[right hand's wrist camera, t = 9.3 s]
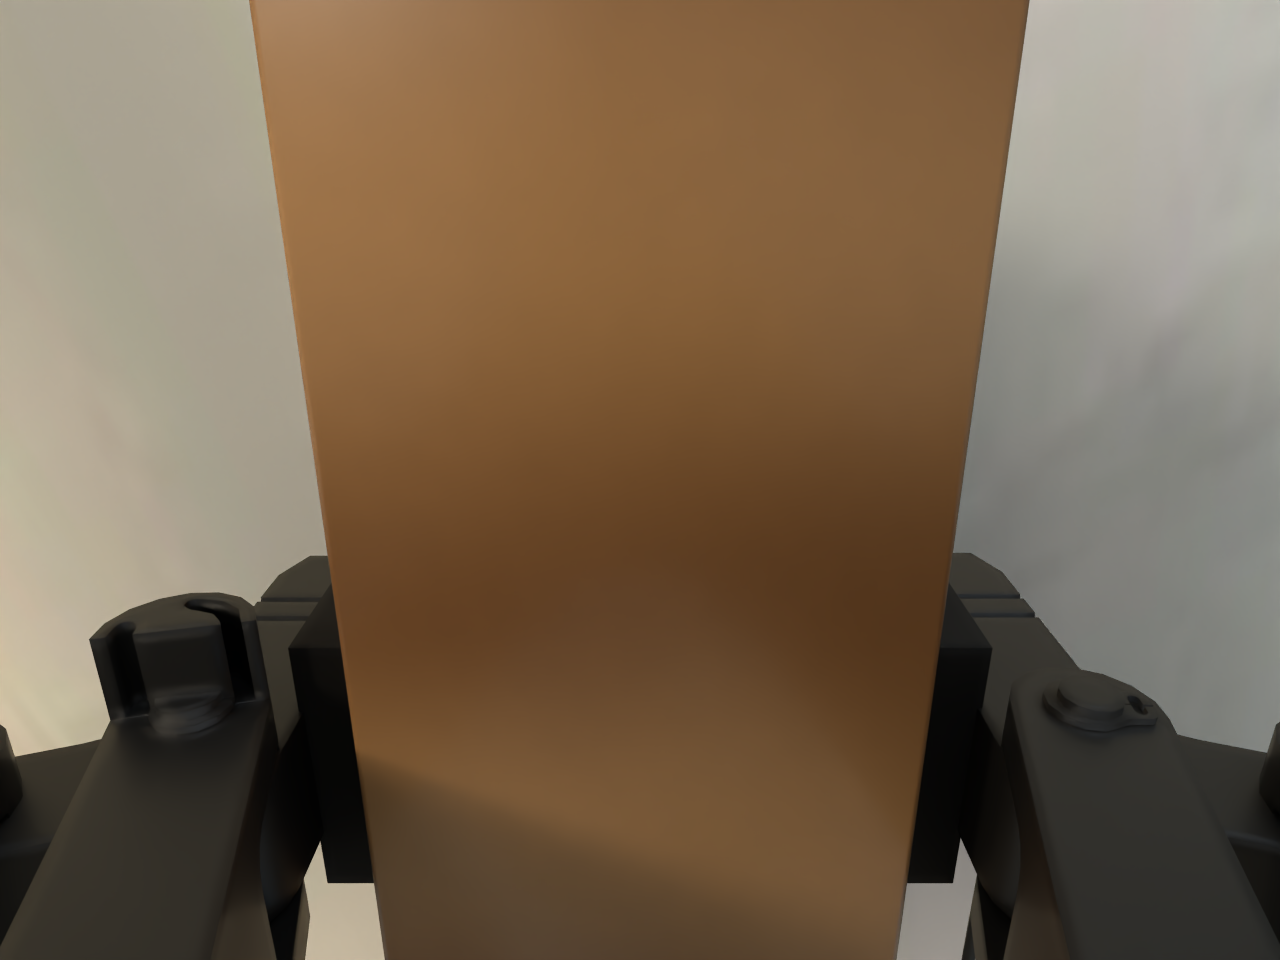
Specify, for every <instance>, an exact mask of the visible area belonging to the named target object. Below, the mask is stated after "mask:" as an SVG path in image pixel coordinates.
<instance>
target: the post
mask: <svg viewBox="0 0 1280 960" xmlns="http://www.w3.org/2000/svg"><path fill="white" fill-rule="evenodd" d="M1029 1H1030V0H249V3H250V10H251V17H252V24H253V31H254V38H255V45H256V52H257V59H258V66H259V73H260V80H261V87H262V95H263V102H264V109H265V116H266V123H267V130H268V137H269V144H270V151H271V158H272V165H273V172H274V179H275V186H276V193H277V200H278V208H279V215H280V222H281V229H282V236H283V243H284V250H285V257H286V264H287V271H288V278H289V285H290V292H291V299H292V306H293V314H294V321H295V328H296V335H297V342H298V349H299V356H300V363H301V370H302V377H303V384H304V391H305V398H306V405H307V412H308V419H309V427H310V434H311V441H312V448H313V455H314V462H315V469H316V476H317V483H318V490H319V497H320V504H321V511H322V518H323V525H324V532H325V540H326V547H327V554H328V561H329V568H330V575H331V582H332V589H333V596H334V603H335V610H336V617H337V624H338V631H339V638H340V646H341V653H342V660H343V667H344V674H345V681H346V688H347V695H348V702H349V709H350V716H351V723H352V730H353V737H354V744H355V751H356V759H357V766H358V773H359V780H360V787H361V794H362V801H363V808H364V815H365V822H366V829H367V836H368V843H369V850H370V857H371V864H372V872H373V879H374V886H375V893H376V900H377V907H378V914H379V921H380V928H381V935H382V942H383V949H384V956H385V960H896V958H897V951H898V944H899V937H900V929H901V922H902V915H903V908H904V901H905V893H906V886H907V879H908V872H909V865H910V857H911V850H912V843H913V836H914V829H915V821H916V814H917V807H918V800H919V793H920V785H921V778H922V771H923V764H924V757H925V749H926V742H927V735H928V728H929V721H930V713H931V706H932V699H933V692H934V685H935V677H936V670H937V663H938V656H939V649H940V641H941V634H942V627H943V620H944V613H945V605H946V598H947V591H948V584H949V577H950V569H951V562H952V555H953V548H954V541H955V533H956V526H957V519H958V512H959V505H960V497H961V490H962V483H963V476H964V469H965V461H966V454H967V447H968V440H969V433H970V425H971V418H972V411H973V404H974V397H975V389H976V382H977V375H978V368H979V361H980V353H981V346H982V339H983V332H984V325H985V317H986V310H987V303H988V296H989V289H990V281H991V274H992V267H993V260H994V253H995V245H996V238H997V231H998V224H999V217H1000V209H1001V202H1002V195H1003V188H1004V181H1005V173H1006V166H1007V159H1008V152H1009V145H1010V137H1011V130H1012V123H1013V116H1014V109H1015V101H1016V94H1017V87H1018V80H1019V73H1020V65H1021V58H1022V51H1023V44H1024V37H1025V29H1026V22H1027V15H1028V8H1029Z"/></svg>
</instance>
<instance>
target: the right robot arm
mask: <svg viewBox="0 0 1280 960" xmlns="http://www.w3.org/2000/svg"><path fill="white" fill-rule="evenodd" d="M89 641H90V645H91V648H92V652H93V656H94V660H95V663H96V667H97V671H98V675H99V679H100V682H101V686H102V690H103V694H104V698H105V701H106V705H107V709H108V713H109V717H110V720H111V721H110V723H109V725H108V727H107V729H106V731H105V733H104V735H103V737H102V739H100V740H96V741H92V742H88V743H84V744H79V745H74V746H69V747H63V748H58V749H53V750H48V751H43V752H38V753H32V754H27V755H22V756H17V757H15V756H14V753H13V750H12V747H11V743H10V740H9V737H8V734H7V731H6V729H5V728H4V727H3V726H1V725H0V960H305V955H306V946H307V938H308V929H309V921H310V913H309V907H308V900H307V894H306V889H305V883H304V876H305V874H306V872H307V870H308V867H309V865H310V863H311V861H312V858H313V856H314V854H315V852H316V849H317V847H318V845H319V843H320V841H321V846H322V852H323V858H324V864H325V870H326V876H327V882H328V883H374V879H373V872H372V864H371V857H370V850H369V843H368V836H367V829H366V822H365V815H364V808H363V801H362V794H361V787H360V780H359V773H358V766H357V759H356V751H355V744H354V737H353V730H352V723H351V716H350V709H349V702H348V695H347V688H346V681H345V674H344V667H343V660H342V653H341V646H340V638H339V631H338V624H337V617H336V610H335V603H334V596H333V589H332V582H331V575H330V568H329V561H328V556H309V557H308V558H306V559H304V560H303V561H301V562H299V563H298V564H296V565H295V566H293V567H291V568H290V569H288V570H286V571H285V572H283V573H281V574H280V575H278V577H277V578H276V579H275V581H274V582H273V583H272V584H271V586H270V587H269V588H268V589H267V591H266V592H265V593H264V594H263V596H262V597H261V602H257V603H256V604H255V606H252V605H251V604H250V603H248V602H247V601H246V600H244V599H243V598H241V597H238V596H233V595H228V594H223V593H189V594H183V595H178V596H173V597H167V598H162V599H158V600H155V601H152V602H149V603H146V604H144V605H141V606H138V607H135V608H132V609H129V610H128V611H126V612H124V613H122V614H121V615H119V616H117V617H115V618H114V619H112V620H110V621H108V622H106V623H105V624H104V625H103V626H102V627H101V628H100V629H99V630H98V631H97V632H96V633H95V634H94V635H93V636H92V637H91V638H90V639H89ZM960 838H961V839H962V841H963V844H964V846H965V848H966V850H967V853H968V855H969V857H970V859H971V862H972V864H973V866H974V868H975V871H976V873H977V878H976V883H975V889H974V894H973V900H972V905H971V911H970V916H969V922H968V927H967V933H966V938H965V944H964V949H963V955H962V960H1280V722H1279V723H1278V724H1276V727H1275V730H1274V733H1273V736H1272V739H1271V743H1270V746H1269V749H1268V752H1267V753H1264V752H1259V751H1254V750H1248V749H1243V748H1238V747H1233V746H1228V745H1222V744H1217V743H1212V742H1207V741H1202V740H1197V739H1193V738H1189V737H1185V736H1181V735H1177V733H1176V731H1175V729H1174V727H1173V725H1172V723H1171V721H1170V719H1169V718H1168V717H1167V716H1166V714H1165V713H1164V712H1163V711H1162V709H1161V708H1160V707H1159V706H1158V704H1157V703H1156V702H1155V701H1153V700H1152V699H1150V698H1149V697H1147V696H1146V695H1144V694H1143V693H1141V692H1140V691H1138V690H1137V689H1135V688H1134V687H1132V686H1130V685H1128V684H1125V683H1123V682H1121V681H1118V680H1116V679H1113V678H1111V677H1108V676H1106V675H1103V674H1099V673H1094V672H1090V671H1085V670H1081V669H1079V668H1078V666H1077V665H1076V664H1075V663H1074V661H1073V660H1072V659H1071V658H1070V656H1069V655H1068V654H1067V653H1066V651H1065V650H1064V649H1063V648H1062V646H1061V645H1060V644H1059V643H1058V641H1057V640H1056V639H1055V638H1054V636H1053V635H1052V634H1051V633H1050V631H1049V630H1048V629H1047V628H1046V626H1045V625H1044V624H1043V623H1042V621H1041V620H1040V619H1039V618H1035V613H1034V611H1033V610H1032V609H1031V608H1030V606H1029V605H1028V604H1027V603H1026V601H1025V600H1024V599H1020V594H1019V593H1018V591H1017V590H1016V589H1015V587H1014V586H1013V585H1012V584H1011V582H1010V581H1009V580H1008V579H1007V577H1006V576H1005V575H1004V574H1003V572H1001V571H1000V570H998V569H996V568H995V567H993V566H991V565H990V564H988V563H986V562H985V561H983V560H981V559H980V558H978V557H976V556H975V555H973V554H971V553H953V555H952V562H951V569H950V577H949V584H948V591H947V598H946V605H945V613H944V620H943V627H942V634H941V641H940V649H939V656H938V663H937V670H936V677H935V685H934V692H933V699H932V706H931V713H930V721H929V728H928V735H927V742H926V749H925V757H924V764H923V771H922V778H921V785H920V793H919V800H918V807H917V814H916V821H915V829H914V836H913V843H912V850H911V857H910V865H909V872H908V879H907V883H953V879H954V873H955V867H956V861H957V856H958V850H959V844H960Z"/></svg>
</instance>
